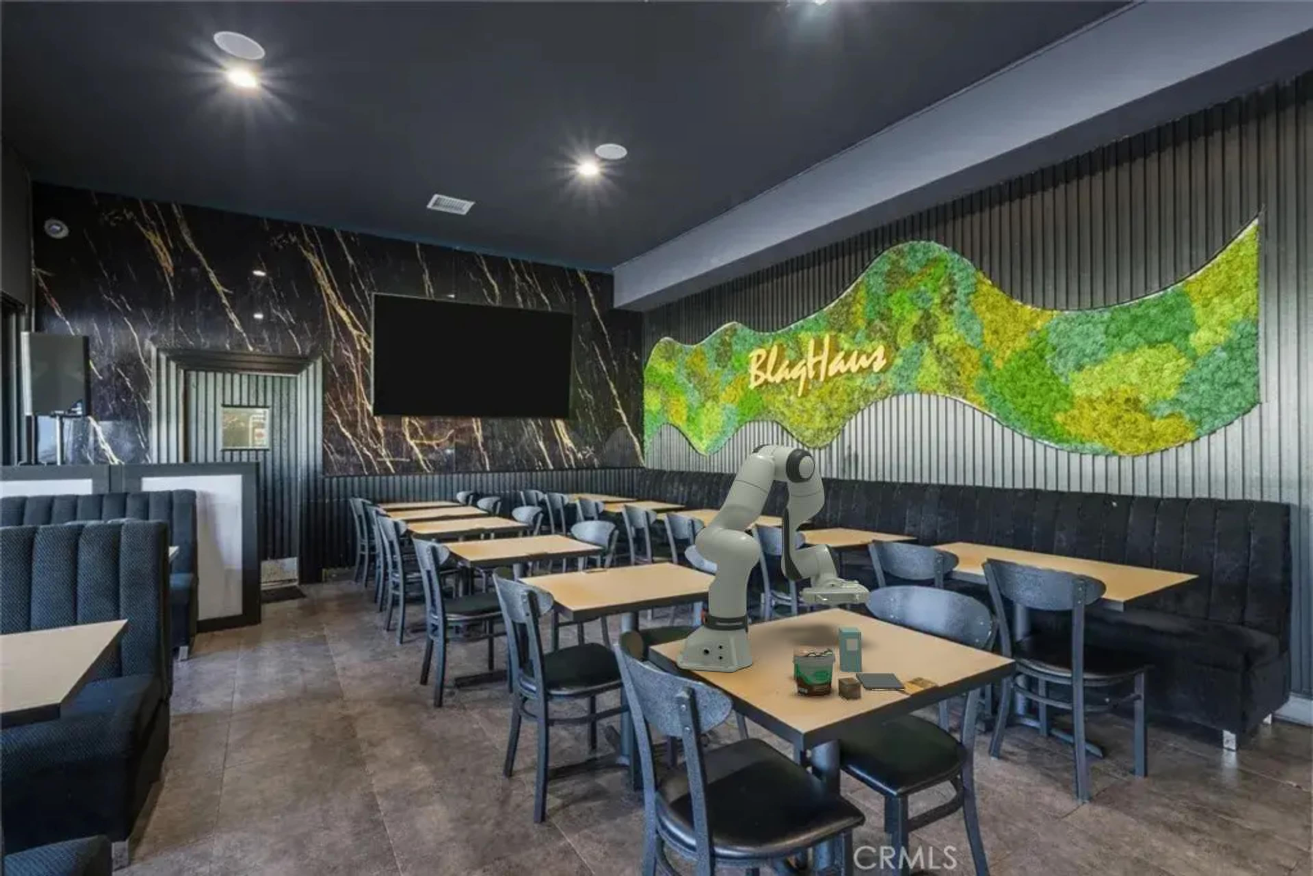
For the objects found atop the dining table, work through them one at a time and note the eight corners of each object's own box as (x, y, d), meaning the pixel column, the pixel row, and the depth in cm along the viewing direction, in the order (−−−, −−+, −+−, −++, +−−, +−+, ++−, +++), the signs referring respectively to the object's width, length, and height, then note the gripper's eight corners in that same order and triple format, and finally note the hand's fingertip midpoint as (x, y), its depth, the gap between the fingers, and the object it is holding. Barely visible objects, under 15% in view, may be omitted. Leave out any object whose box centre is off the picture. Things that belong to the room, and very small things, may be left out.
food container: (809, 702, 160) (808, 661, 160) (793, 693, 165) (792, 654, 165) (846, 692, 165) (846, 653, 166) (829, 684, 171) (829, 646, 171)
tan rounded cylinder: (795, 683, 173) (795, 653, 173) (792, 675, 179) (791, 646, 179) (818, 683, 172) (818, 653, 172) (814, 675, 178) (813, 645, 178)
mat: (865, 690, 167) (865, 687, 167) (856, 676, 177) (855, 673, 177) (905, 690, 166) (905, 687, 166) (893, 676, 176) (893, 673, 176)
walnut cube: (846, 700, 161) (845, 684, 161) (838, 694, 164) (838, 678, 165) (861, 699, 161) (860, 682, 161) (853, 693, 165) (852, 677, 165)
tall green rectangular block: (843, 672, 180) (843, 632, 180) (839, 665, 185) (838, 627, 185) (862, 672, 180) (861, 632, 180) (857, 665, 185) (856, 627, 185)
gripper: (798, 581, 209) (805, 592, 196) (862, 580, 208) (874, 590, 194) (798, 601, 209) (806, 612, 196) (863, 600, 208) (874, 611, 194)
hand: (840, 601), depth 195 cm, fingers open, 8 cm apart
